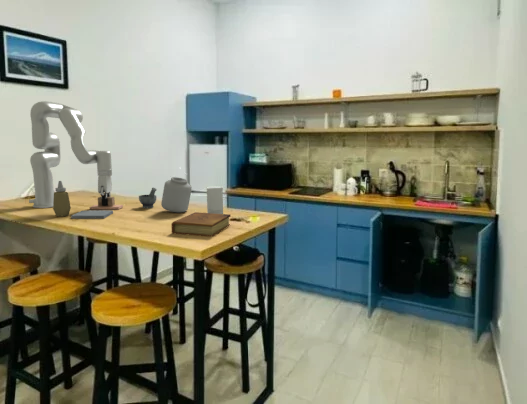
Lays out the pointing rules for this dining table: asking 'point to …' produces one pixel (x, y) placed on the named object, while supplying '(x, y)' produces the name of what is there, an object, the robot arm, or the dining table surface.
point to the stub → (110, 204)
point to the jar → (176, 195)
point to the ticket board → (92, 214)
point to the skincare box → (215, 200)
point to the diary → (201, 224)
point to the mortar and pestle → (148, 199)
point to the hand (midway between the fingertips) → (106, 204)
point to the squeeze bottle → (61, 201)
